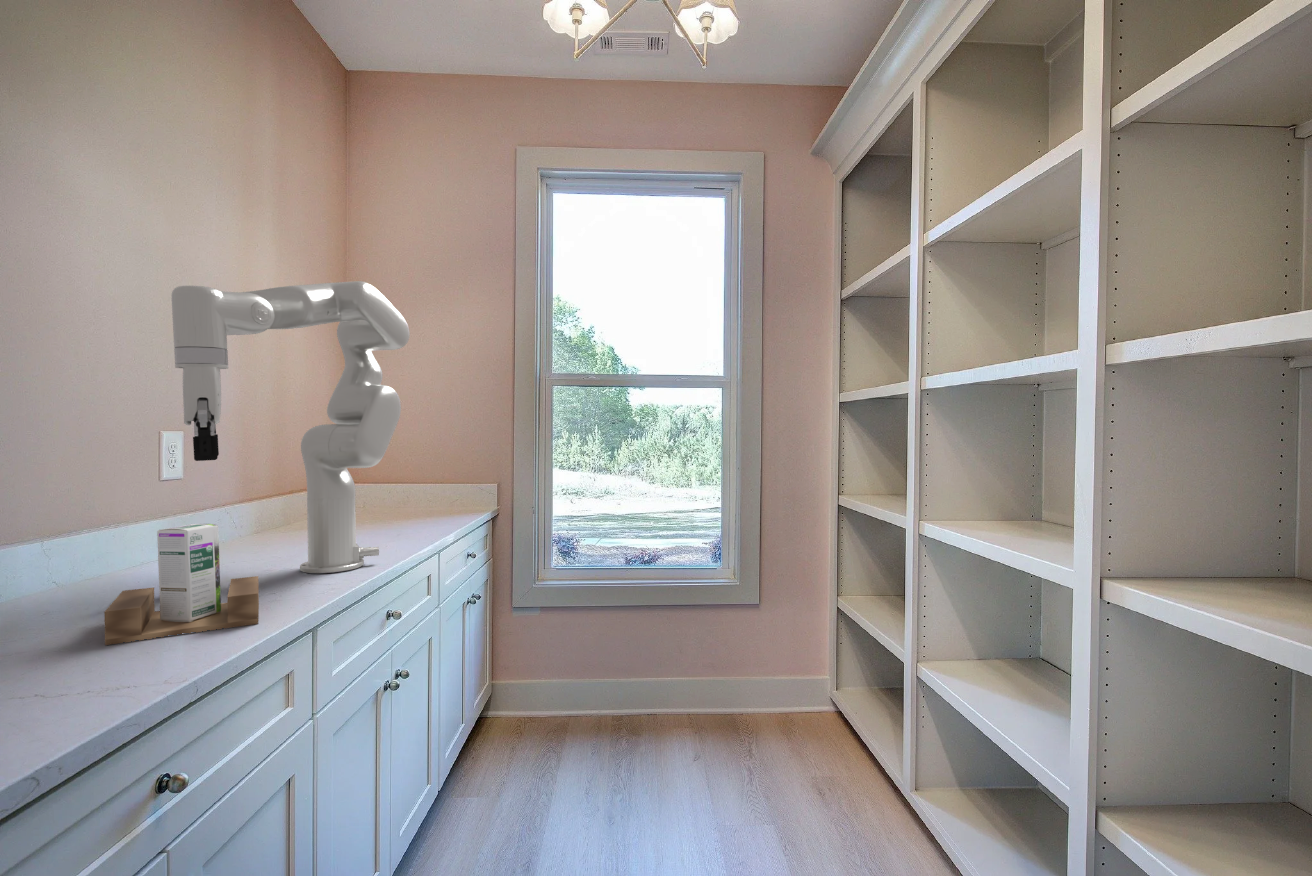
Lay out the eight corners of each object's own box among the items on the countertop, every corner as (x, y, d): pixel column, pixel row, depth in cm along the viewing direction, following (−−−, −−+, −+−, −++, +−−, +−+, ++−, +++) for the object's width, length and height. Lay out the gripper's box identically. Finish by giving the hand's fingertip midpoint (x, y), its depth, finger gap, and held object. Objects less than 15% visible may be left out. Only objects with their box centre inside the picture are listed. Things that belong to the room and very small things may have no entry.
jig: (258, 603, 112) (258, 576, 112) (258, 623, 100) (257, 593, 100) (123, 620, 102) (122, 590, 102) (105, 645, 90) (104, 611, 90)
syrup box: (189, 623, 98) (188, 529, 98) (158, 621, 99) (156, 528, 99) (221, 612, 104) (220, 523, 103) (191, 610, 105) (190, 522, 105)
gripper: (178, 362, 115) (183, 456, 116) (170, 355, 101) (176, 463, 102) (228, 363, 119) (233, 454, 120) (227, 356, 105) (232, 460, 106)
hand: (207, 458), depth 111 cm, fingers open, 9 cm apart
